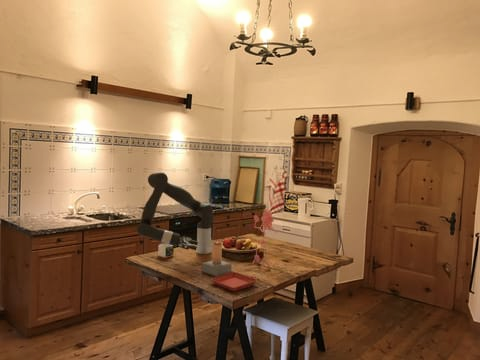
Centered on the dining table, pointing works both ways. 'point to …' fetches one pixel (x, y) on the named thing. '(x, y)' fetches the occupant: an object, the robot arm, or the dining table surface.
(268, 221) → the figurine
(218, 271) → the grey lidded square box
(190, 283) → the dining table surface
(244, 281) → the plant saucer
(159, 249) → the medicine bottle
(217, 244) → the jar
